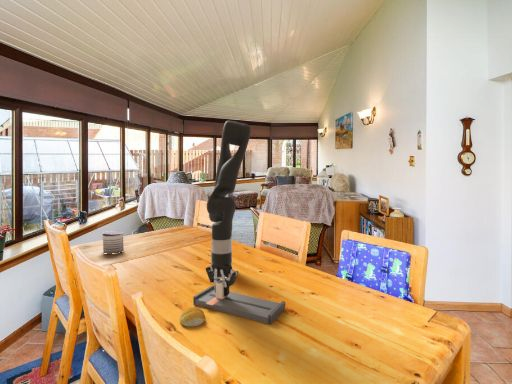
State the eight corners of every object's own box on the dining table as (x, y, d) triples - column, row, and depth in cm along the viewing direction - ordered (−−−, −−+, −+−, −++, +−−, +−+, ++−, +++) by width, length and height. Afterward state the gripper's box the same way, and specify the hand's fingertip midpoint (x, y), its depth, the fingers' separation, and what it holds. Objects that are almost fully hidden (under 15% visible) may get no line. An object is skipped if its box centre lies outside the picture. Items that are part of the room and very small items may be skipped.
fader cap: (215, 297, 121) (215, 281, 120) (221, 293, 125) (221, 278, 124) (222, 299, 120) (222, 283, 119) (228, 295, 123) (228, 279, 123)
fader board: (191, 305, 120) (191, 297, 120) (212, 292, 132) (212, 285, 131) (269, 326, 105) (269, 317, 105) (285, 309, 117) (285, 301, 117)
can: (100, 251, 189) (99, 231, 187) (120, 248, 196) (119, 228, 195) (106, 256, 180) (105, 235, 179) (127, 252, 188) (126, 232, 187)
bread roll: (202, 313, 115) (202, 302, 114) (206, 325, 106) (206, 313, 106) (178, 316, 112) (178, 305, 112) (181, 329, 104) (180, 317, 103)
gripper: (243, 250, 120) (243, 294, 122) (211, 245, 127) (212, 288, 129) (232, 255, 114) (232, 302, 116) (200, 250, 120) (200, 294, 122)
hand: (221, 294), depth 122 cm, fingers closed on fader cap, 3 cm apart
